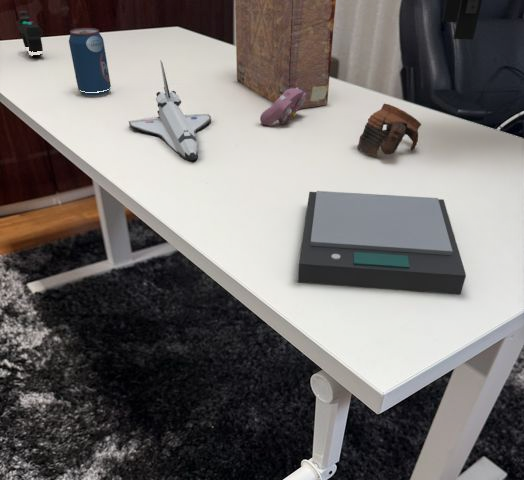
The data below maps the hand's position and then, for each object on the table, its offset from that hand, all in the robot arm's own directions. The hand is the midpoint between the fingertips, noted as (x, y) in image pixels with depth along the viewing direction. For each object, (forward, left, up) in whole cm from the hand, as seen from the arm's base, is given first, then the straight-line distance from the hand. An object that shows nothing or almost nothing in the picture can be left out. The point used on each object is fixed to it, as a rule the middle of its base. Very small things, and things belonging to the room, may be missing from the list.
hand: (456, 30), depth 84 cm
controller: (+97, -52, -18) cm, 111 cm away
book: (+30, -28, -18) cm, 45 cm away
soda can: (+70, -22, -18) cm, 75 cm away
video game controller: (+27, -9, -18) cm, 34 cm away
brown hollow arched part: (+8, +5, -18) cm, 20 cm away
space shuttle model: (+45, +3, -18) cm, 48 cm away
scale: (+11, +38, -18) cm, 43 cm away
